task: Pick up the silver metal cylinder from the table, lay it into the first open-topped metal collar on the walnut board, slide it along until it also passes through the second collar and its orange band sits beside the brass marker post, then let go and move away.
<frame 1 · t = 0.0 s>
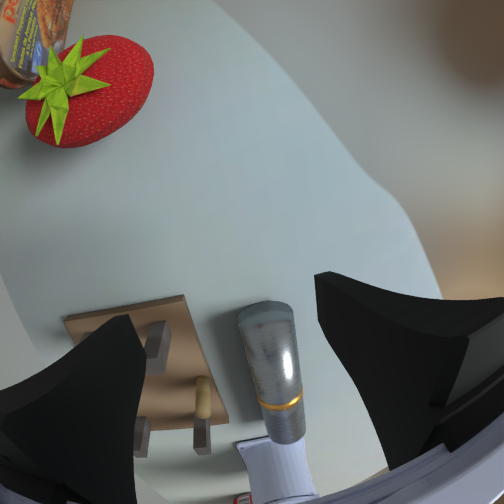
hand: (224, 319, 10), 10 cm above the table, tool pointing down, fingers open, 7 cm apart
strawberry: (118, 106, 16), on the table
soda can: (251, 495, 35), on the table
tin: (57, 19, 12), on the table
silver metal cylinder: (273, 370, 24), on the table
collar stand: (151, 375, 23), on the table
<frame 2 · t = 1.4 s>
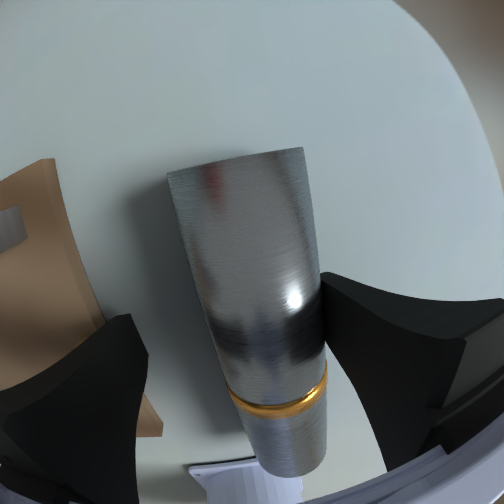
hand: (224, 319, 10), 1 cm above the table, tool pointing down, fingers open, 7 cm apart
silver metal cylinder: (237, 345, 12), point 1 cm above the table, tilted 41°, touching gripper
collar stand: (28, 333, 11), on the table
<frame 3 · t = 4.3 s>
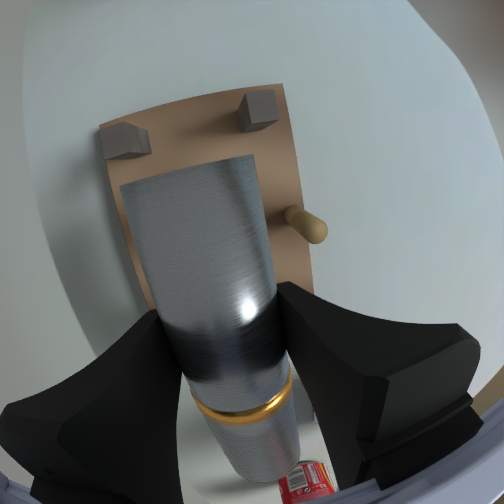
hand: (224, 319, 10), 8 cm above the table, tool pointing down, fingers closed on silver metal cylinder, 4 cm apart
soda can: (301, 468, 29), on the table
silver metal cylinder: (233, 338, 12), point 7 cm above the table, touching gripper
collar stand: (213, 219, 17), on the table
when the fingers open (2 cm above the table, at t = 6.9 s): silver metal cylinder stays where it is, resting on collar stand.
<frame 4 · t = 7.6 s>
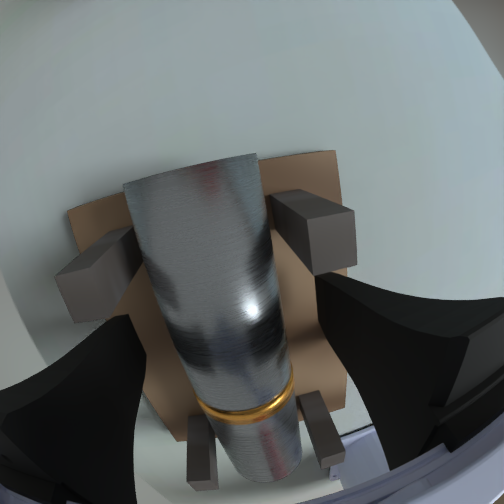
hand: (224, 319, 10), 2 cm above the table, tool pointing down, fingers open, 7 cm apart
silver metal cylinder: (233, 338, 12), point 1 cm above the table, touching collar stand
collar stand: (233, 330, 13), on the table
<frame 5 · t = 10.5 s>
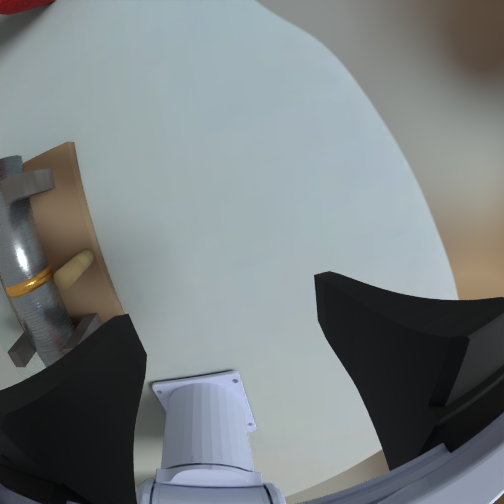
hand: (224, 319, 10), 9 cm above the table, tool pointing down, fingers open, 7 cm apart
strawberry: (54, 0, 11), on the table
silver metal cylinder: (36, 260, 16), point 1 cm above the table, touching collar stand
collar stand: (44, 259, 17), on the table
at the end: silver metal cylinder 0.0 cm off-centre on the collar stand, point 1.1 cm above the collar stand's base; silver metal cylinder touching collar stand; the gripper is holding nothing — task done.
